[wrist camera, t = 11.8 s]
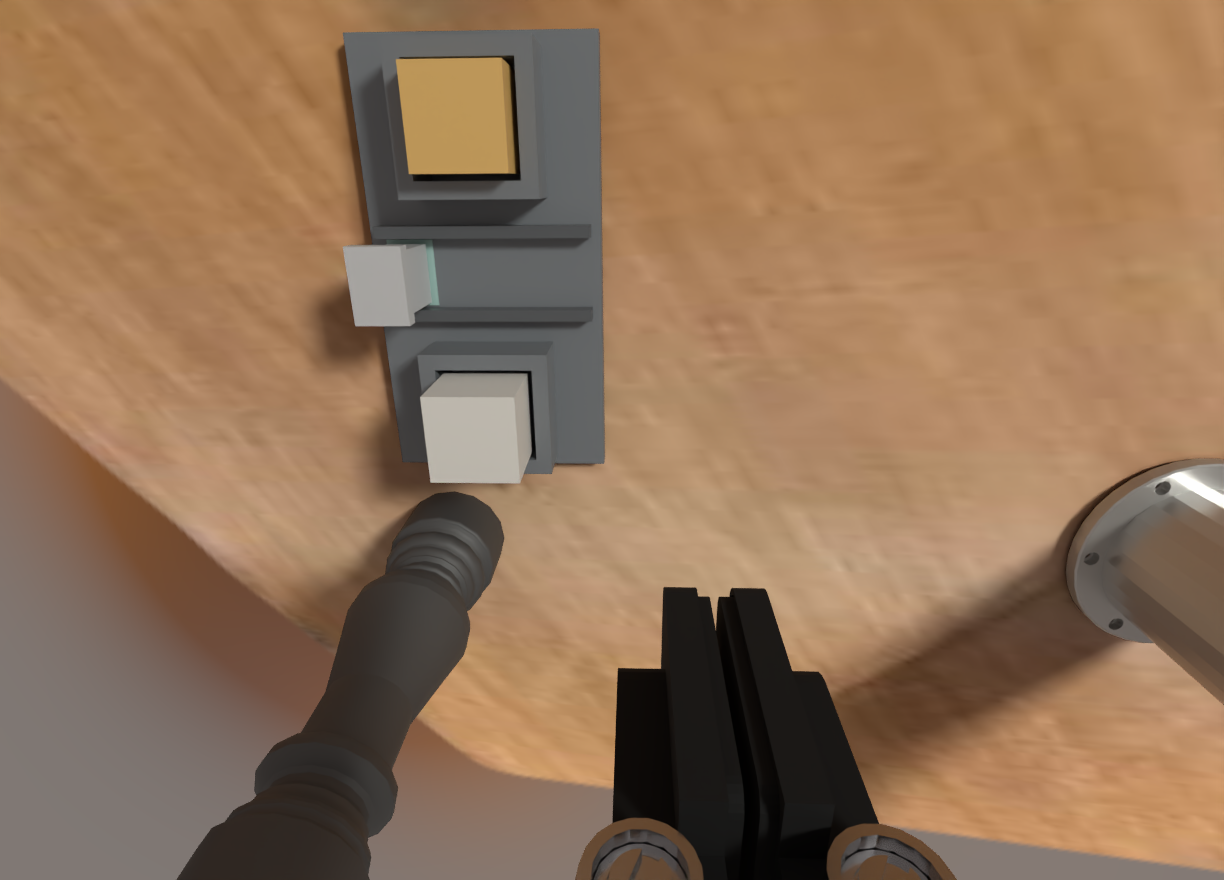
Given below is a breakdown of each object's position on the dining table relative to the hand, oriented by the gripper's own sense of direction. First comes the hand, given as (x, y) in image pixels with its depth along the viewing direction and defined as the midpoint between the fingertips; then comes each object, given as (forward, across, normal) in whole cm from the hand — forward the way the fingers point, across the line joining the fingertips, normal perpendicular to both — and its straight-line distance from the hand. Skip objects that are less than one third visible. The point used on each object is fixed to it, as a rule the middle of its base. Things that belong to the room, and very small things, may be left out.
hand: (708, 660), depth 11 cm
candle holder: (+27, +13, +14) cm, 33 cm away
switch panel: (+27, +9, -3) cm, 29 cm away
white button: (+24, +9, +4) cm, 26 cm away
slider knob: (+26, +13, -3) cm, 29 cm away
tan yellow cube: (+26, +9, -10) cm, 29 cm away
